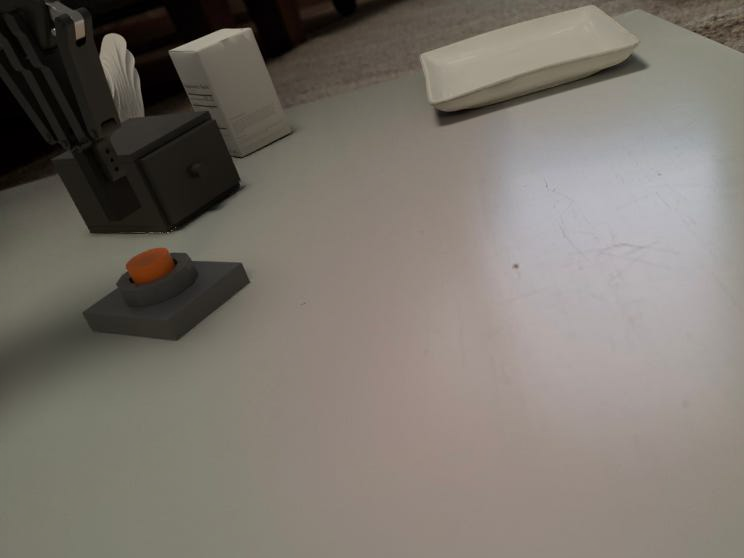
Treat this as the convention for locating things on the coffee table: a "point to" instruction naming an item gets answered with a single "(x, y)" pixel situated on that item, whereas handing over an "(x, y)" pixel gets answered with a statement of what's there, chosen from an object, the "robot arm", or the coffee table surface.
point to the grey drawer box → (132, 173)
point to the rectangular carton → (232, 88)
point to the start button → (150, 265)
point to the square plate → (524, 58)
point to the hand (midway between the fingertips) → (125, 213)
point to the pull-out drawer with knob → (190, 170)
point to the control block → (167, 299)
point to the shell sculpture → (121, 77)
